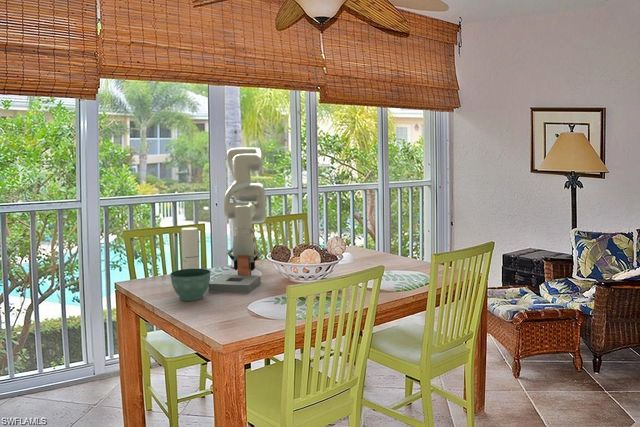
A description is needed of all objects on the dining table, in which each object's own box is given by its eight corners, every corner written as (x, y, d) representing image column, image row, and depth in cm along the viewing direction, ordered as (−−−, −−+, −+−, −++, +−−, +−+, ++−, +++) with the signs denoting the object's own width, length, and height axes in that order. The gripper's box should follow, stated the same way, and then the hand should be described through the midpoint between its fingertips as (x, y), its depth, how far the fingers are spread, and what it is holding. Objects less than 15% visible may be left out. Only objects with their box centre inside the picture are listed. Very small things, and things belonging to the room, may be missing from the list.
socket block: (222, 281, 280) (222, 274, 279) (260, 283, 277) (260, 275, 276) (208, 291, 262) (208, 283, 262) (249, 293, 259) (248, 285, 259)
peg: (241, 278, 286) (240, 253, 284) (251, 278, 285) (250, 253, 283) (237, 280, 281) (237, 255, 279) (248, 281, 280) (247, 255, 279)
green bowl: (163, 299, 251) (162, 273, 250) (194, 291, 263) (193, 266, 262) (187, 305, 241) (186, 278, 239) (219, 297, 253) (218, 271, 252)
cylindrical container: (195, 285, 273) (193, 230, 270) (180, 284, 274) (178, 229, 271) (201, 281, 280) (200, 227, 277) (187, 281, 281) (185, 227, 278)
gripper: (264, 230, 282) (264, 268, 285) (228, 230, 285) (229, 267, 288) (259, 233, 275) (260, 272, 277) (222, 232, 278) (223, 271, 280)
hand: (244, 269), depth 282 cm, fingers open, 6 cm apart
